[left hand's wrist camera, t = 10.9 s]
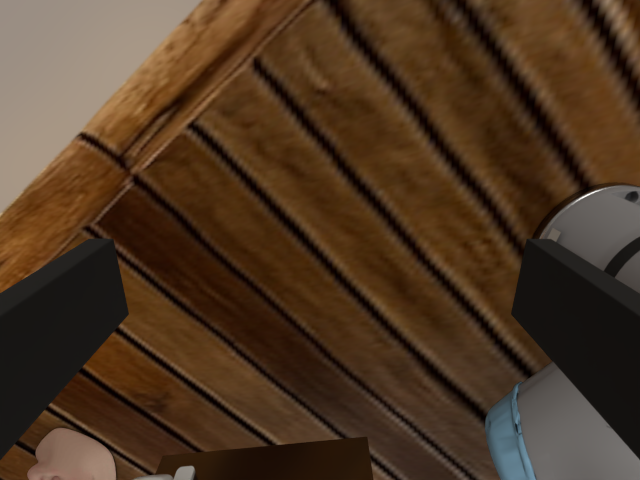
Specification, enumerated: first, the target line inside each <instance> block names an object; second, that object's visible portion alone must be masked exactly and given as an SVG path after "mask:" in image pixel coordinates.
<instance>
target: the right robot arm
mask: <svg viewBox="0 0 640 480" xmlns="http://www.w3.org/2000/svg"><path fill="white" fill-rule="evenodd" d="M133 480H197V475H196V472H195V469H194V467H193V466H185V467H180V468H179V469H178V470H177V471H176V474H175V477H174V479H173V477H172V476H171V475H168V474H160V475H149V476H141V477H137V478H135V479H133Z"/></svg>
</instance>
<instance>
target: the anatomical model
mask: <svg viewBox="0 0 640 480" xmlns="http://www.w3.org/2000/svg"><path fill="white" fill-rule="evenodd" d="M36 458H37V460H38V463H37V464H36V465H34V466H33V467H32V468H31V469H30V470H29V471H28V474H27V476H28V478H29V480H116V469H115V463H114V459H113V457H112V454H111V453H110V451H109V450H108V449H107V448H106V447H105V446H104V445H102V444H101V443H99V442H98V441H96V440H94V439H92V438H90V437H88V436H86V435H84V434H81V433H79V432H76V431H73V430H70V429H66V428H57V429H54V430H52V431H51V432H50V433H49V434H48V435H47V436H46V437H45V438H44V439H43V440H42V441H41V442H40V444H39V446H38V447H37V449H36Z"/></svg>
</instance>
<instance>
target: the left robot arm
mask: <svg viewBox="0 0 640 480" xmlns="http://www.w3.org/2000/svg"><path fill="white" fill-rule="evenodd" d="M128 314H129V313H128V308H127V303H126V298H125V293H124V289H123V284H122V279H121V274H120V269H119V265H118V260H117V255H116V250H115V245H114V240H113V239H88V240H86V241H85V242H83V243H82V244H80V245H78V246H77V247H75V248H73V249H72V250H70V251H68V252H67V253H65V254H64V255H62V256H60V257H59V258H57V259H55V260H54V261H52V262H51V263H49V264H47V265H46V266H44V267H42V268H41V269H39V270H38V271H36V272H34V273H33V274H31V275H29V276H28V277H26V278H25V279H23V280H21V281H20V282H18V283H16V284H15V285H13V286H11V287H10V288H8V289H7V290H5V291H3V292H2V293H0V460H1V459H2V457H3V456H4V455H5V454H6V453H7V452H8V451H9V449H10V448H11V447H12V446H13V445H14V444H15V443H16V442H17V440H18V439H19V438H20V437H21V436H22V435H23V434H24V432H25V431H26V430H27V429H28V428H29V427H30V426H31V425H32V423H33V422H34V421H35V420H36V419H37V418H38V417H39V415H40V414H41V413H42V412H43V411H44V410H45V409H46V407H47V406H48V405H49V404H50V403H51V402H52V401H53V400H54V398H55V397H56V396H57V395H58V394H59V393H60V392H61V390H62V389H63V388H64V387H65V386H66V385H67V384H68V383H69V381H70V380H71V379H72V378H73V377H74V376H75V375H76V373H77V372H78V371H79V370H80V369H81V368H82V367H83V365H84V364H85V363H86V362H87V361H88V360H89V359H90V358H91V356H92V355H93V354H94V353H95V352H96V351H97V350H98V348H99V347H100V346H101V345H102V344H103V343H104V342H105V341H106V339H107V338H108V337H109V336H110V335H111V334H112V333H113V331H114V330H115V329H116V328H117V327H118V326H119V325H120V323H121V322H122V321H123V320H124V319H125V318H126V317H127V316H128ZM511 314H512V316H513V317H514V318H515V319H516V320H517V321H518V322H519V324H520V325H521V326H522V327H523V328H524V329H525V330H526V331H527V333H528V334H529V335H530V336H531V337H532V338H533V339H534V341H535V342H536V343H537V344H538V345H539V346H540V347H541V348H542V350H543V351H544V352H545V353H546V354H547V355H548V356H549V358H550V359H551V360H552V362H551V363H549V364H548V365H547V366H545V367H544V368H542V369H541V370H540V371H538V372H537V373H535V374H534V375H533V376H531V377H530V378H528V379H527V380H526V381H524V382H519V383H517V384H516V385H515V386H514V388H513V390H512V391H511V392H510V393H508V394H507V395H506V396H505V397H503V398H502V399H501V400H500V401H499V402H497V403H496V404H495V405H494V406H493V407H492V408H491V409H490V410H489V412H488V414H487V416H486V421H485V431H486V437H487V438H486V440H487V444H488V448H489V451H490V454H491V457H492V460H493V463H494V465H495V467H496V470H497V472H498V475H499V477H500V479H501V480H640V187H639V186H635V185H632V184H626V183H606V184H600V185H595V186H592V187H589V188H586V189H584V190H581V191H579V192H577V193H575V194H573V195H572V196H570V197H568V198H567V199H565V200H564V201H562V202H561V203H560V204H559V205H557V206H556V207H555V208H554V209H553V210H552V211H551V212H550V213H549V214H548V215H547V216H546V218H545V219H544V220H543V221H542V223H541V224H540V226H539V227H538V229H537V231H536V233H535V235H534V237H533V239H527V240H526V245H525V250H524V255H523V260H522V265H521V269H520V274H519V279H518V284H517V289H516V293H515V298H514V303H513V308H512V313H511Z"/></svg>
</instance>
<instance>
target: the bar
mask: <svg viewBox="0 0 640 480" xmlns="http://www.w3.org/2000/svg"><path fill="white" fill-rule="evenodd" d="M185 466H193V467H194V469H195V472H196V475H197V480H373V474H372V467H371V460H370V453H369V446H368V438H367V437H359V438H348V439H338V440H327V441H316V442H306V443H295V444H285V445H274V446H263V447H253V448H242V449H231V450H221V451H210V452H199V453H189V454H178V455H168V456H163V457H162V459H161V462H160V464H159V467H158V469H157V471H156V474H155V475H160V474H168V475H171V476H172V477H173V479H174V477H175V474H176V471H177V470H178V469H179V468H180V467H185Z"/></svg>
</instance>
